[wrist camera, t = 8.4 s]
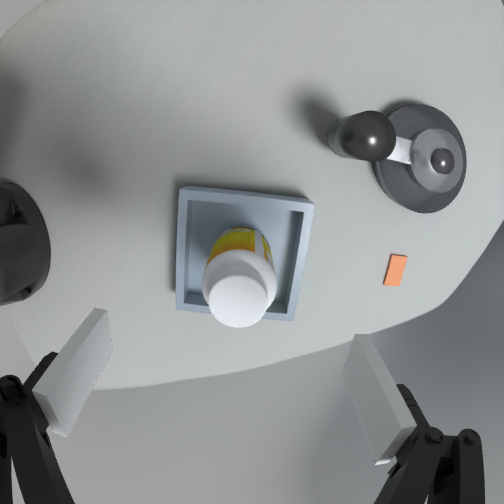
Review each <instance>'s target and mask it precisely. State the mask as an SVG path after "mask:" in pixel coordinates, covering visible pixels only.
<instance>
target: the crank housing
mask: <svg viewBox="0 0 504 504" xmlns="http://www.w3.org/2000/svg"><path fill="white" fill-rule="evenodd" d="M386 117H387V118H388V119H389V120H390V121H391V123H392V124H393V126H394V129H395V132H396V136H397V137H401V138H404V139H408V140H409V139H410V137H411V136H412V135H413V134H414V133H416V132H417V131H419V130H423V129H442V130H445V131H447V132H449V133H450V134H451V135H452V136H453V137H454V138H455V139H456V141H457V142H458V144H459V146H460V148H461V151H462V156H463V169H462V174H461V177H460V179H459V181H458V183H457V184H456V185H455V186H454V187H453V188H452V189H451V190H449V191H447V192H443V193H438V192H434V191H430V190H427V189H424V188H421V187H419V186H418V185H416V184H415V183H414V182H413V181H412V179H411V178H410V176H409V174H408V172H407V170H406V166H405V164H404V163H400V162H396V161H392V160H388V159H384V160H382V161H377V162H373V161H372V162H373V168H374V172H375V175H376V178H377V180H378V182H379V184H380V186H381V188H382V189H383V191H384V192H385V193H386V194H387V195H388V197H389V198H391V199H392V200H393V201H394V202H396V203H397V204H399V205H401V206H403V207H405V208H407V209H410V210H412V211H415V212H418V213H433V212H436V211H439V210H441V209H443V208H445V207H446V206H447V205H449V204H450V203H451V202H452V201H453V200H454V199H455V197H456V196H457V195H458V193H459V191H460V189H461V187H462V185H463V182H464V178H465V174H466V165H467V163H466V151H465V146H464V143H463V139H462V137H461V135H460V132H459V131H458V129H457V127H456V126H455V124H454V123H453V122H452V120H451V119H450V118H449V117H448V116H447V115H445V114H444V113H443V112H441V111H440V110H438V109H436V108H434V107H431V106H428V105H412V106H407V107H402V108H399V109H396V110H395V111H393V112H391V113H390V114H389V115H387V116H386Z"/></svg>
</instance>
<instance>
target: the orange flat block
mask: <svg viewBox="0 0 504 504" xmlns="http://www.w3.org/2000/svg"><path fill="white" fill-rule="evenodd" d="M406 261H407V256H400V255H392V254H391V258H390V262H389V266H388V269H387V273H386V277H385V280H384V285H390V286H399V285H400V282H401V278H402V275H403V271H404V268H405V264H406Z"/></svg>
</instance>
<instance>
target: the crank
mask: <svg viewBox="0 0 504 504" xmlns="http://www.w3.org/2000/svg"><path fill="white" fill-rule="evenodd" d="M327 141H328V145H329V147H330V148H331V150H332V151H333V152H334V153H335V154H336V155H338V156H340V157H343V158H349V159H358V160H365V161H373V162H377V161H382V160H384V159H388V160H392V161H396V162H400V163H404V164H405V166H406V170H407V172H408V174H409V176H410V178H411V179H412V181H413V182H414V183H415V184H416V185H418V186H419V187H421V188H424V189H427V190H430V191H434V192H438V193H443V192H447V191H449V190H451V189H452V188H453V187H454V186H455V185H456V184H457V183H458V181H459V179H460V177H461V174H462V169H463V156H462V151H461V148H460V146H459V144H458V142H457V141H456V139H455V138H454V137H453V136H452V135H451V134H450V133H449V132H447V131H445V130H442V129H423V130H419V131H417V132H416V133H414V134H413V135H412V136H411V137H410V139H409V140H408V139H404V138H401V137H397V136H396V132H395V129H394V126H393V124H392V123H391V121H390V120H389V119H388V118H387V117H386V116H385V115H383V114H382V113H379V112H377V111H365V112H361V113H358V114H354V115H351V116H348V117H345V118H341V119H338V120H336V121H335V122H333V123H332V124H331V126H330V127H329V129H328V132H327Z"/></svg>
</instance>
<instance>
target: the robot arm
mask: <svg viewBox="0 0 504 504" xmlns="http://www.w3.org/2000/svg"><path fill="white" fill-rule="evenodd" d="M49 268H50V243H49V237H48V233H47V229H46V226H45V223H44V220H43V218H42V215H41V213H40V211H39V209H38V207H37V206H36V204H35V203H34V201H33V200H32V198H31V197H30V196H29V195H28V194H27V193H26V192H25V191H24V190H23V189H21V188H20V187H18V186H16V185H14V184H10V183H2V184H0V306H2V305H6V304H10V303H14V302H19V301H22V300H25V299H27V298H29V297H30V296H32V295H33V294H34V293H35V292H36V291H38V290H39V289H40V288H41V287H42V286H43V284H44V283H45V281H46V279H47V276H48V273H49ZM112 352H113V346H112V340H111V334H110V328H109V321H108V314H107V310H103V309H98V308H94V309H93V311H92V312H91V313H90V314H89V315H88V317H87V318H86V319H85V320H84V322H83V323H82V324H81V325H80V327H79V328H78V329H77V330H76V332H75V333H74V334H73V335H72V337H71V338H70V339H69V341H68V342H67V343H66V344H65V346H64V347H63V348H62V350H61V351H60V352H59V353H55V352H51V353H49V354H48V355H46V356H45V357H44V358H43V359H42V360H41V362H40V363H39V365H37V367H36V368H35V371H33V372H32V373H31V375H30V376H29V377H28V379H27V380H26V381H25V383H24V384H23V385H22V383H21V381H20V379H19V378H18V377H17V376H14V375H6V376H4V377H1V378H0V504H13V499H12V478H11V456H12V460H13V464H14V468H15V472H16V476H17V479H18V483H19V486H20V490H21V493H22V495H23V499H24V502H25V504H75V503H74V501H73V499H72V497H71V494H70V492H69V490H68V488H67V485H66V483H65V480H64V478H63V476H62V473H61V470H60V468H59V465H58V463H57V460H56V458H55V454H54V451H53V449H52V445H51V442H50V439H49V436H48V434H47V432H46V429H47V427H48V426H50V428H51V429H52V431H53V433H56V434H59V435H61V436H64V437H66V438H68V435H69V433H70V431H71V429H72V427H73V425H74V423H75V421H76V419H77V417H78V415H79V413H80V411H81V410H82V408H83V406H84V404H85V402H86V400H87V398H88V396H89V394H90V392H91V390H92V389H93V387H94V385H95V383H96V381H97V379H98V377H99V376H100V374H101V372H102V370H103V368H104V367H105V365H106V363H107V361H108V359H109V358H110V356H111V354H112ZM342 375H343V378H344V380H345V383H346V386H347V388H348V391H349V394H350V397H351V399H352V402H353V405H354V407H355V410H356V413H357V416H358V419H359V421H360V424H361V427H362V430H363V433H364V436H365V439H366V442H367V445H368V447H369V451H370V453H371V456H372V459H373V462H374V465H378V464H383V463H389V462H390V461H391V460H392V458H393V457H394V456H396V459H397V462H396V464H395V465H394V466H393V467H392V468H391V470H390V471H389V472H388V474H390V475H389V477H388V479H387V481H386V483H385V485H384V486H383V488H382V490H381V492H380V494H379V496H378V497H377V499H376V501H375V503H374V504H424V503H425V500H426V498H427V495H428V502H427V504H485V487H484V486H485V483H484V467H483V454H482V445H481V439H480V436H479V435H478V433H477V432H475V431H474V430H472V429H464V430H462V431H461V432H460V433H459V435H458V436H445V435H444V434H443V433H442V432H441V431H440V430H439V429H437V428H435V427H430V426H429V424H428V422H427V421H426V418H425V417H424V415H423V414H422V411H421V409H420V407H419V406H418V405H417V402H416V400H414V397H413V395H412V393H411V392H410V390H409V389H408V388H407V387H405V385H403V384H397V385H396V384H395V382H394V380H393V379H392V377H391V375H390V373H389V371H388V369H387V368H386V366H385V364H384V362H383V360H382V359H381V357H380V355H379V353H378V352H377V350H376V348H375V346H374V344H373V343H372V341H371V339H370V337H369V336H368V334H355V336H354V339H353V342H352V345H351V348H350V351H349V354H348V356H347V359H346V362H345V365H344V367H343V370H342Z"/></svg>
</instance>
